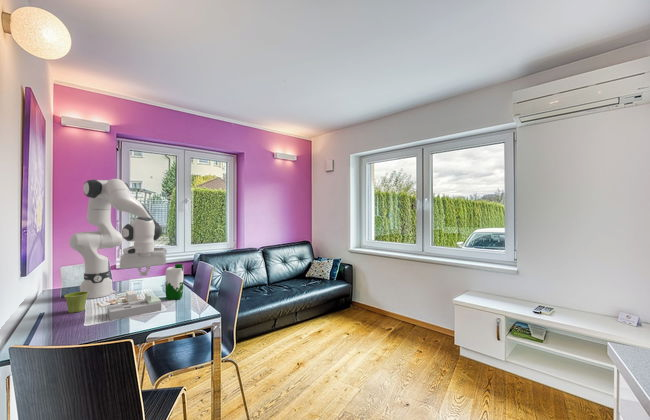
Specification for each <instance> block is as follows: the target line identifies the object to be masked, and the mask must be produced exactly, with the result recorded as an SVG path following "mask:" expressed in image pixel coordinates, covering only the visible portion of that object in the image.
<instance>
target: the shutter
mask: <svg viewBox="0 0 650 420" xmlns="http://www.w3.org/2000/svg"><path fill="white" fill-rule="evenodd" d="M144 300H145V301H146V302H147V303H148V304H153V303H159V302H161V303H162V300H161V299H160V298H159V297H158V296H152V295H151V294H150V293H148V292H145V293H144Z"/></svg>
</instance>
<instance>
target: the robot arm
mask: <svg viewBox="0 0 650 420" xmlns="http://www.w3.org/2000/svg"><path fill="white" fill-rule="evenodd" d="M82 187H83V188H82V190H83V193H84V195H85V196H86V197H87V198H88V205H87V211H86V212H87V213H86V215H87V216H86V221H87V222H88V223H89V224H90V225H92V226H95V227H97V230H96V231H95V230H94V231H81V232H76V233H73V234H72V235H70V238H69V240H68V243H69V246H70V248H71V249H72V250H74V251H76V252H77V253H79V254H80V255H81V257H82V258H83V261H84V274H83V282H81V283H80V285H79V292H89V293H88V295H87V297H86V300H88V299H90V300H91V299H98V298H103V297H107V296H110V295H112V294H115V293H117V291H116V290H114V289H113V280H112V279H111V278H110V271H109V258H108V257H107V256H105V255H103V254H100V253H99V252H98V250H102V249H103V250H104V249H113V248H116V247H119V246H120V245H121V244H122V242H123V239H124V240H125V241H126V242H133V245H132V246H127V247H125V248H123V249H122V252H123V253H122V254H121V256H120V258H119V259H120V260H119V268H120V269H121V270H127V269H128V270H129V269H137V270H138V272H139V276H140V277H143V276H145V277H146V276H148V272H149V271H150V269H151V267H157V266H165V265H166V264H167V256H166V255H167V252H168V251H167V249H166V248H165V247H155V241H157V240H158V239H160V238H161V236H162V235H163V230H162V229H163V228H162V226H161V225H160V223H158V222H157V221H156V220H155V218H154V217H153V216H152V214H151V213H150V211H149V210H148V208H147V207H146V206H145V205H144V204H143V203H142V202H141V201H139V200H138V199H137V198H135V196H134V195H133V194H132V192H131V189H130V188H131V187H130V186H129V184H128V183H127V182H124V180H122V179H119V178H112V179H107V180H105V179H88V180H86V181H85V182H84V183H83V186H82ZM112 208H113V209H115V210H117V211H120V212H124V213H128V214H133V215H134V216H137V217H136V218H135V220H134V221H133V222H130V223H126V225H124V226H123V228H122V230H121V232H120V231H119V230H117V229H115V227H114V226H113V224H112V218H111V217H112V215H111V214H112ZM144 267H145V268H146V270H145V271H142V268H144Z"/></svg>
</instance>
